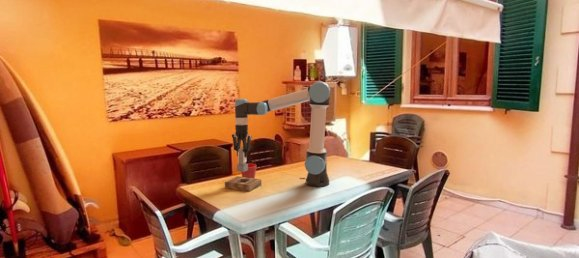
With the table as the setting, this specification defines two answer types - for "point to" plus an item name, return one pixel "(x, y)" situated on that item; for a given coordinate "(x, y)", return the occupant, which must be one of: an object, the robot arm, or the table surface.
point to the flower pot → (250, 171)
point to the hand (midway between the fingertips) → (242, 161)
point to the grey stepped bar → (241, 162)
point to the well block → (243, 183)
